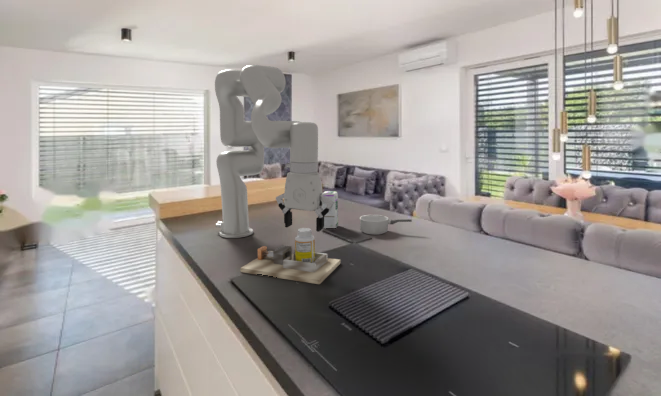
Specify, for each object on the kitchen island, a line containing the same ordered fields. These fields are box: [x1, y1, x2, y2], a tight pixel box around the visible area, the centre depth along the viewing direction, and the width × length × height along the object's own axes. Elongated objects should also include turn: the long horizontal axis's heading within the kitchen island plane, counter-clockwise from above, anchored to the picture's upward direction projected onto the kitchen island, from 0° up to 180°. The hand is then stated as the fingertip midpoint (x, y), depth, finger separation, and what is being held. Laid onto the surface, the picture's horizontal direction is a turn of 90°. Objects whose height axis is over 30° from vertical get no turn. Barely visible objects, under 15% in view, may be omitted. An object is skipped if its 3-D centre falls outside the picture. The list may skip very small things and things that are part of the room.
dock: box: [240, 244, 341, 285], centre depth 106 cm, size 24×16×5 cm, turn 69°
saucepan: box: [359, 214, 413, 235], centre depth 142 cm, size 12×20×6 cm, turn 78°
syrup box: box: [322, 190, 339, 229], centre depth 149 cm, size 6×6×14 cm
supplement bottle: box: [294, 227, 316, 263], centre depth 105 cm, size 6×6×10 cm
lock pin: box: [257, 245, 286, 260], centre depth 109 cm, size 8×3×3 cm, turn 69°
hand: (303, 228), depth 104 cm, fingers open, 9 cm apart
